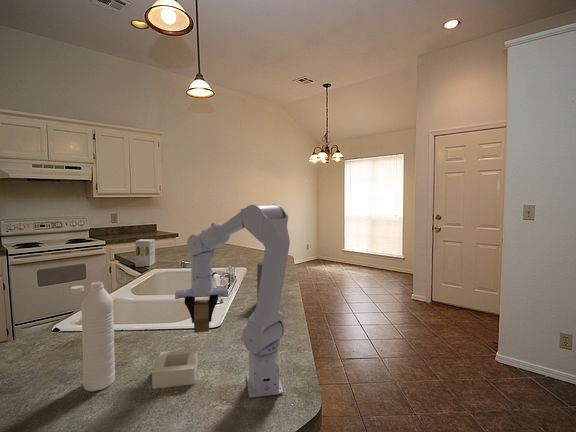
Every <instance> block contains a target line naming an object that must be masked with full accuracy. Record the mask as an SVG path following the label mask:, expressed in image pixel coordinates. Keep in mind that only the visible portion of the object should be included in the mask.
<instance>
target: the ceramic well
mask: <svg viewBox="0 0 576 432" xmlns="http://www.w3.org/2000/svg"><path fill="white" fill-rule="evenodd" d="M198 351H199V350H198V348H194V349H191V348H190V349H183V350H181V349H180V350H170V351H161V352H160V353H159V356H158V358H157V361H156V362H155V365H154V368H153V369H152V372H151V377H152V378H151V379H152V380H151V382H152V386H151V387H152V390H155V389H156V390H157V389H165V388H172V387H173V388H174V387H183V386H192V385H194V384H195V381H196V374H197V368H198V363H199V361H198V360H199V358H198V357H199V356H198V355H199V354H198V353H199V352H198Z"/></svg>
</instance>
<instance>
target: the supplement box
mask: <svg viewBox="0 0 576 432" xmlns="http://www.w3.org/2000/svg"><path fill="white" fill-rule="evenodd" d="M134 244H135V250H134V253H135V254H134V257H135V262H134V263H135V265H134V266H135V267H136V268H137V267H139V268H140V267H141V268H142V267H143V268H145V267H144V266H150V267H152V266H153V265H152V264H154V263H155V264H156V239H154V238H153V239H152V238H151V239H148V238H145V239H143V238H141V239H138V240H135V243H134ZM155 264H154V265H155ZM151 265H152V266H151Z"/></svg>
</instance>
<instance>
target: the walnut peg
mask: <svg viewBox="0 0 576 432" xmlns="http://www.w3.org/2000/svg"><path fill="white" fill-rule="evenodd" d="M209 331H210V322H209V299H200V300H199V299H198V300H196V299H195V304H194V323H193V333H207V332H208V333H209Z"/></svg>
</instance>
